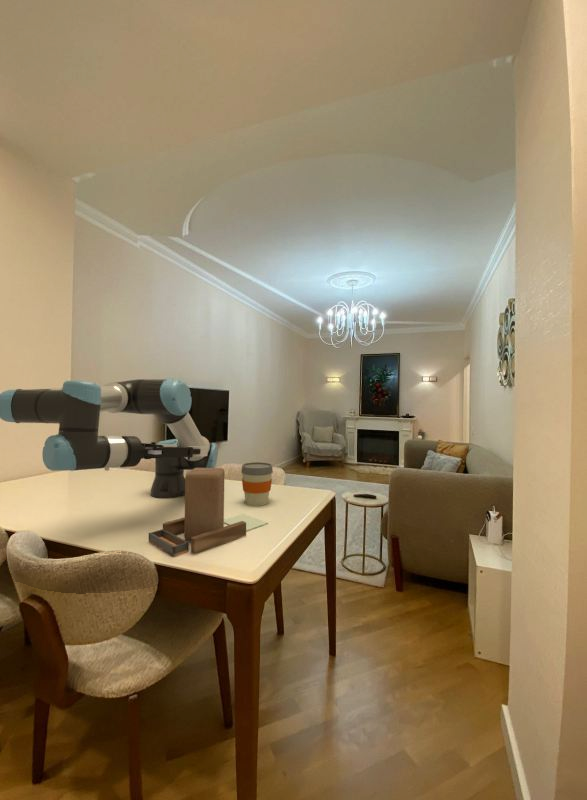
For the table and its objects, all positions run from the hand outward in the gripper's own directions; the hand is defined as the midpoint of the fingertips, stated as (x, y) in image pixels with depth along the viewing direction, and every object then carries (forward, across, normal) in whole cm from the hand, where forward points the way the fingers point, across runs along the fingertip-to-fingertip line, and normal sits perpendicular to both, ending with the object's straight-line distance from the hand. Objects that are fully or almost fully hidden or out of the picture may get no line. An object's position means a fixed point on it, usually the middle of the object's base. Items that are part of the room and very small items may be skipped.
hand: (190, 449), depth 103 cm
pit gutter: (-3, -4, -27) cm, 28 cm away
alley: (+8, -2, -26) cm, 28 cm away
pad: (+24, 0, -25) cm, 34 cm away
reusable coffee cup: (+44, -11, -22) cm, 50 cm away
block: (+8, -2, -26) cm, 28 cm away
